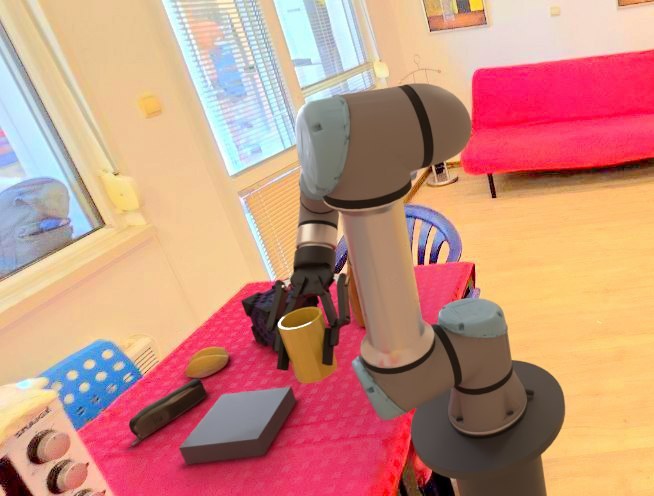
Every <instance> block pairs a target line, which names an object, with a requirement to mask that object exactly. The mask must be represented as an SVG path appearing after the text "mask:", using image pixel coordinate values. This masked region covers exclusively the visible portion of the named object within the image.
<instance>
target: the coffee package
mask: <svg viewBox="0 0 654 496" xmlns="http://www.w3.org/2000/svg"><path fill="white" fill-rule="evenodd" d="M346 275H347V276H349V277H350V282H349V286H348V295H349V307H350V310H351V313H352V316H353V318H354V320H355V321H356V323H357V324H358V325H359V327H360V328H365V323H364V319H363V315H362V311H361V306H360V302H359V298H358V293H357V289H356V285H355V280H354V276H353V272H352V267H351V263H350V259H349V254H348V253H347V255H346Z"/></svg>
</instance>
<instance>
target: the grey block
mask: <svg viewBox="0 0 654 496" xmlns="http://www.w3.org/2000/svg"><path fill="white" fill-rule="evenodd" d="M296 403H297V400H296V397H295V394H294V391H293V388H292V386H282V387H273V388H266V389H257V390H248V391H239V392H230V393H221V395H220V396H219V397H218V398H217V400H216V401H215V403H214V404H213V405H212V406H211V407H210V408H209V410H208V411H207V412H206V413H205V414H204V416H203V417H202V418H201V420H200V421H199V422H198V423H197V425H196V426H195V427H194V428H193V430H192V431H191V432H190V434H188V436H187V437H186V438H185V440H184V441H183V442H182V443H181V445H180V446H179V447H178V449H179V452H180V454H181V456H182V457H183V460H184V462H185V464H186V465H194V464H201V463H211V462H220V461H227V460H236V459H245V458H251V457H252V458H253V457H260V456H265V454H266V453H267V451H268V450H269V448H270V446H271V445H272V444H273V441H274V439H276V436H277V434H278V433H279V432H280V430H281V428H282V427H283V424H284V423H285V422H286V420H287V418H288V417H289V414H290V413H291V411H292V410H293V408H294V407H295V405H296Z"/></svg>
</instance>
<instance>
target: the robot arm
mask: <svg viewBox="0 0 654 496" xmlns="http://www.w3.org/2000/svg"><path fill="white" fill-rule="evenodd" d="M472 128H473V127H472V120H471V117H470V113H469V111H468V109H467V107H466V105H465V104H464V103H463V101H462V100H460V99H459V98H458V96H457V95H455V94H454V93H453V92H451V91H450V90H448V89H445V88H443V87H441V86H437V85H434V84H430V83H422V82H421V83H419V82H417V83H415V82H413V83H407V84H402V85H396V86H391V87H385V88H379V89H370V90H364V91H358V92H350V93H345V94H338V93H336V94H333V95H331V96H329V97H324V98H321V99H316V100H311V101H308V102H305V103H304V104H303V105H302V106H301V107H300V109H299V110H298V112H297V115H296V118H295V131H294V132H295V144H296V145H295V146H296V153H297V158H298V162H299V163H298V164H299V165H300V168H301V170H300V173H299V178H298V187H299V209H298V211H299V212H298V221H297V230H296V237H295V245H294V247H295V249H296V250H294V255H293V256H294V257H293V265H292V268H293V270H292V271H293V272H292V274H291V275H290V278H289V279H288V280H285V279H284V281H283V280H280V279H277V280H276V281H275V282H274V285H275V289H276V293H275V296H274V300H273V304H272V308H271V311H270V315H269V319H268V322H267V326H266V330H267V331H270V332H273V333H275V334H276V341H275V351H274V352H276V353H278V352H279V353H278V354H277V363H276V370H279V371H284V372H286V371H289V370H290V369H289V368H290V360H289V357H288V354H287V351H286V348H285V345H284V342H283V340H282V337H281V334H280V331H279V328H278V322H279V321H280V319H281V318H282V317H284V316H285V315H287V314H288V313H290V312H293V311H295V310H298V309H300V308H301V306H302V304H303V302H305V301H306V299H307V297H311V296H314V295H315V296H318V298H319V300H320V303H321V306H322V308H323V312H324V314H325V316H326V320H327V323H328V324H327V328H325V333H324V344H323V357H322V364H324V365H328V366H330V365H333V352H335V347H338V346H339V344H340V333H341V332H340V331H341V328H343V327H345V326H349V325H350V324H351V321H352V319H351V306H350V301H349V295H348V286H349V282H350V277H349V276H347V273H344V272H341V273H336V271H335V268H336V259H337V252H336V250H337V247H338V235H339V234H338V233H339V232H338V231H339V221H340V224H341V228H342V232H343V237H344V241H345V245H346V249H347V255H348V254H349V259H350V263H351V267H352V272H353V276H354V280H355V285H356V289H357V293H358V298H359V302H360V306H361V311H362V315H363V319H364V323H365V326H364V328H365V333H366V334H365V335H364V336H363V338H362V340H361V342H360V345H359V350H360V351H359V352H360V355H357V356H356V357H355V358H354V359H353V360H352V361H351V367H352V369H353V371H354V374H355V376H356V377H357V380H358V381H359V383H360V385H361V388H362V390H363V392H364V393H365V395H366V397H367V399H368V401H369V403H370V404H371V406H372V408H373V410H374V412H375V413H376V415H377V417H378V418H379V419H380V420H382V421H386V422H387V421H388V422H389V421H392V420H394V419H396V418H399V417H401V416H403V415H407V414H409V412H412V411H413V410H416V408H417V407H419V406H421V405H422V404H424V403H426V402H428V401H430V400H432V399H434V398H436V397H437V396H439V395H441V394H443V393H445V392H447V391H449V390H450V389H451V392H450V396H449V397H450V400H448V401H449V405H448V415H449V420H450V423H451V426H452V427H453V429H454V430H455V431H456V432H457V433H459V434H461V435H463V436H465V437H468V438H474V439H484V438H491V437H495V436H498V435H500V434H503V433H505V432H507V431H508V430H510V429H512V428H513V427H514V426H516V425H517V424H518V423H519V422H520V421H521V419H522V418H523V416H524V415H525V413H526V410H527V404H528V403H527V395H531V396H533V395H534V391H532V390H527V389H524V387H523V385H522V383H521V381H520V380H519V378H518V376H517V375H516V373H515V371H514V370H513V366H512V360H513V359H512V353H511V345H510V340H509V331H508V330H509V326H508V324H507V321H506V317H505V313H504V310H503V309H502V306H500V305H499V304H497V302H494V301H492V300H489V299H486V298H478V297H467V298H466V297H465V298H460V299H456V300H453V301H451V302H449V303H447V304H445V305H444V306H443V307H442V308H441V309H440V310H439V311H438V313H437V314H438V315H437V318H436V319H437V322H435V323H433V324H430V323H429V322H427V321H426V320H424V319H423V315H422V310H421V302H420V297H419V290H418V283H417V277H416V273H415V265H414V260H413V253H412V248H411V240H410V235H409V229H408V222H407V216H406V211H405V210H406V209H405V204H404V200H405V199H406V198H407V197H408V196H409V195H410V194H411V191H412V189H413V181H415V180H416V178H417V175H418V172H419V171H420V170H422V169H425V168H428V167H432V166H435V165H439V164H441V163H444V162H446V161H449V160H451V159H452V158H454V157H456V156H457V155H459V154H460V153H462V152H463V150H464V149H466V147H467V145H468V143H469V141H470V139H471V136H472ZM333 283H335V285H336V295H337V296H336V297H337V309H338V313H337V310H336V307H335V304H334V301H333V298H332V296H333V295H332V293H331V291H330V290H331V289H330V288H331V286H332V285H333ZM291 285H293V286H294V288H295V289H294V291H293V293H292V295H291V300H290V302H289V304H288V306H287V308H286V310H285V306H286V302H287V298H288V291H290V287H291ZM284 310H285V312H284Z"/></svg>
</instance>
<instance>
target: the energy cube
mask: <svg viewBox="0 0 654 496" xmlns="http://www.w3.org/2000/svg"><path fill="white" fill-rule="evenodd" d="M288 279H290V278H289V277H287V278H285V279H284V280H288ZM284 280H283V279H282V281H284ZM294 289H295V288H294V286H293V285H291V287H290V291H288V298H287V302H286V306H285V310H286V308H287V306H288V304H289V302H290V300H291V295H292V293H293V291H294ZM275 293H276V289H275V284H273V285H271V288H270V289H268V290H266V291H264V292H260V291H258V292H256V293H254V294H252V295H250V296H247V297H245V298H243V299H241V300H240V302H241V305H242V307H243V310H244V313H245V316H246V317H248V318H250V320H251V321H250V322H251V323H252V325H251V326H250V329H251V332H252V335H253V337H254V341H255V342H256V343H258V344H260V345H262V346H264V347H267V346H271V349H272V351H274V352H276V351H275V341H276V334H275V333H273V332H270V331H267V330H266V326H267V322H268V319H269V315H270V311H271V308H272V304H273V300H274V296H275ZM319 304H320V299H319V296H315V295H314V296H311V297H307V299H306V301H305V302H303V304H302V306H301V308H305V307H318V308H319V306H318V305H319ZM301 308H300V309H301ZM285 310H284V312H285ZM277 353H279V352H277Z"/></svg>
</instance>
